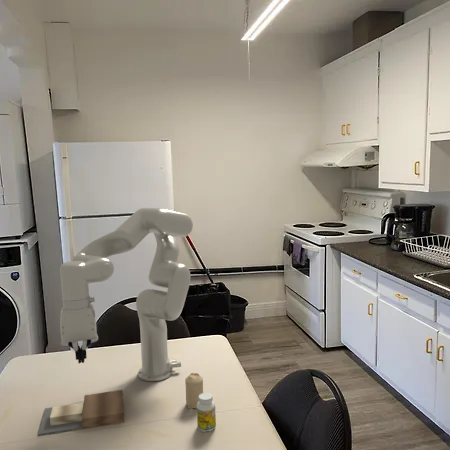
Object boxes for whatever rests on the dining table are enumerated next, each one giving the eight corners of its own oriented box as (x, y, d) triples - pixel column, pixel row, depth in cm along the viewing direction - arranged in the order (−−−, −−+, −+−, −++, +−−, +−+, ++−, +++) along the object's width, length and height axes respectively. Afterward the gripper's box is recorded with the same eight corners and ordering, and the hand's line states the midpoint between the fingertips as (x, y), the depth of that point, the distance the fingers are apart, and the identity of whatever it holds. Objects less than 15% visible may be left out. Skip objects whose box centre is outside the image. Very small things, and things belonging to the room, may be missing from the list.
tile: (83, 410, 136) (83, 402, 136) (82, 420, 130) (82, 413, 130) (53, 414, 134) (52, 407, 134) (50, 425, 128) (49, 417, 128)
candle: (190, 410, 135) (189, 380, 134) (183, 402, 140) (182, 373, 139) (206, 406, 138) (205, 376, 136) (199, 398, 143) (198, 369, 141)
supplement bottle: (218, 423, 128) (217, 393, 127) (211, 434, 123) (210, 402, 122) (202, 420, 130) (201, 390, 129) (194, 430, 125) (193, 399, 124)
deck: (123, 398, 144) (122, 389, 143) (124, 421, 130) (124, 412, 130) (85, 404, 141) (84, 395, 140) (82, 428, 127) (81, 419, 127)
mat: (85, 404, 141) (85, 402, 140) (82, 428, 127) (82, 427, 127) (45, 409, 138) (45, 408, 137) (38, 435, 124) (38, 434, 124)
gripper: (102, 296, 135) (107, 352, 137) (51, 302, 131) (56, 359, 134) (102, 304, 127) (107, 363, 130) (47, 310, 124) (53, 370, 127)
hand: (81, 361), depth 132 cm, fingers closed
